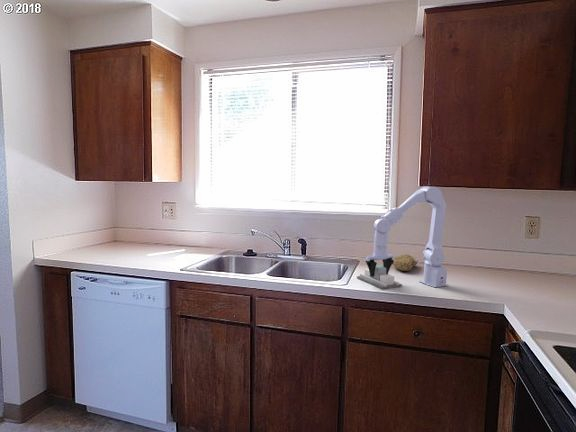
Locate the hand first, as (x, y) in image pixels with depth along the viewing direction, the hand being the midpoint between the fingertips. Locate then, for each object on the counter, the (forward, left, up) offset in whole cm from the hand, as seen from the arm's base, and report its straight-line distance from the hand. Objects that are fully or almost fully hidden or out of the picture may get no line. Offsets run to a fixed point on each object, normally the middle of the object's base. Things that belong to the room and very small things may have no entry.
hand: (378, 275), depth 167 cm
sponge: (+16, -30, -4) cm, 34 cm away
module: (0, 0, -2) cm, 2 cm away
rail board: (0, 0, -3) cm, 3 cm away
